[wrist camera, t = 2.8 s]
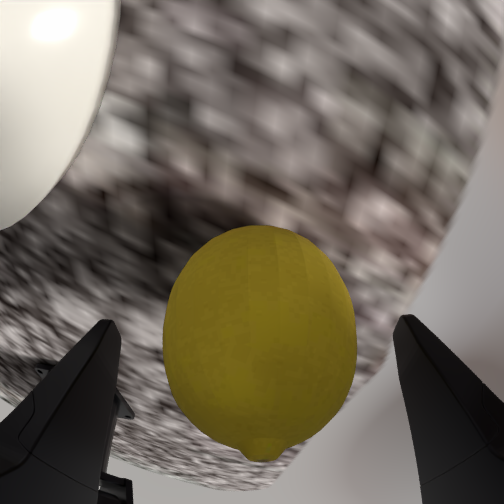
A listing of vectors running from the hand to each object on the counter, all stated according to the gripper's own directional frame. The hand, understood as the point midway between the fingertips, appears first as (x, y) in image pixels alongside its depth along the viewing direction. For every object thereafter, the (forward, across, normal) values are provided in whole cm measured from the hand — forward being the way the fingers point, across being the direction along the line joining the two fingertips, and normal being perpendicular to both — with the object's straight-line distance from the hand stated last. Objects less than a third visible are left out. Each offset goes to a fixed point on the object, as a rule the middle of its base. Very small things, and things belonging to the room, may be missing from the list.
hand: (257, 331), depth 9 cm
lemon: (+4, 0, 0) cm, 4 cm away
